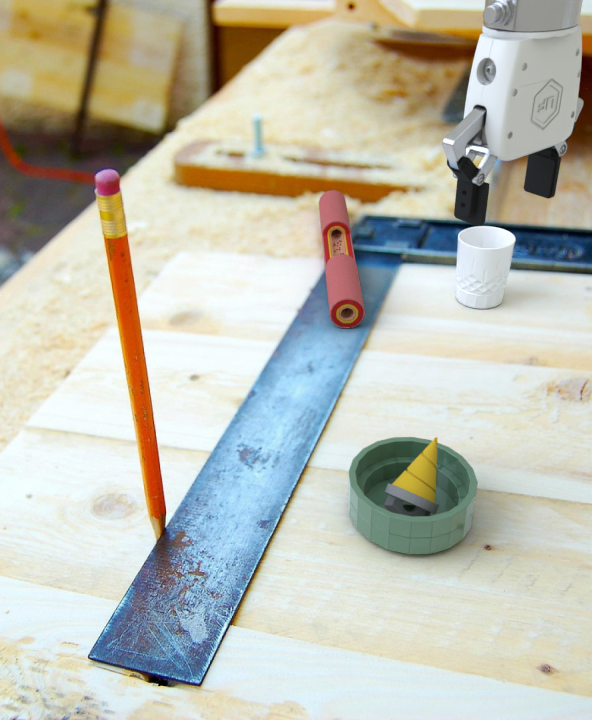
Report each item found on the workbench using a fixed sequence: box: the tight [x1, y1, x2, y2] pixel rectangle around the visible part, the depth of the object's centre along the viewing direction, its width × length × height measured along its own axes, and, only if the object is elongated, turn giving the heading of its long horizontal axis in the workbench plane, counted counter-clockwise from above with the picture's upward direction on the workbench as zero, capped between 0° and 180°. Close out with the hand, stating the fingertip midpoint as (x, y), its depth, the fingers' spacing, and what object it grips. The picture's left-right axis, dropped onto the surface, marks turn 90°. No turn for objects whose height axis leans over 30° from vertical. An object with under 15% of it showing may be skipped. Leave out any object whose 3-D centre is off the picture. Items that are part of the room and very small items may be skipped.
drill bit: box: [384, 436, 439, 517], centre depth 77 cm, size 5×5×10 cm
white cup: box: [455, 225, 517, 310], centre depth 112 cm, size 8×8×10 cm
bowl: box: [347, 436, 478, 555], centre depth 78 cm, size 12×12×5 cm
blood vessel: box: [318, 189, 366, 329], centre depth 126 cm, size 42×5×5 cm, turn 177°
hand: (504, 207), depth 72 cm, fingers open, 9 cm apart
